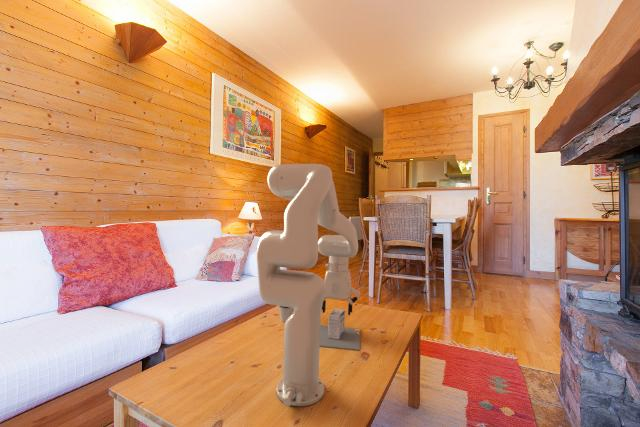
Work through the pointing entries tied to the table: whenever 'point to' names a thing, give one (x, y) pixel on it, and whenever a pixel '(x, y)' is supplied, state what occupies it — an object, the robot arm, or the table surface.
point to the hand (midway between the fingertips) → (336, 312)
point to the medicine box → (336, 324)
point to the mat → (347, 340)
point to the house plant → (285, 313)
